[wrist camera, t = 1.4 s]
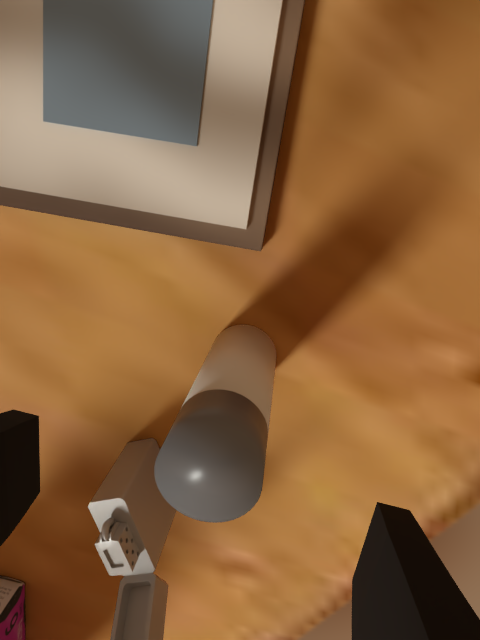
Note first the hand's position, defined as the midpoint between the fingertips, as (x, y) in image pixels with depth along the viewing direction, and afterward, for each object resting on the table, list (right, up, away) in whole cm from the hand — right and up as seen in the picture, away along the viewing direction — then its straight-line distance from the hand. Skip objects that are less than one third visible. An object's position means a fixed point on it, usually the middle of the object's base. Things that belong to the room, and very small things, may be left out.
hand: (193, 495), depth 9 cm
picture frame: (-5, +14, +8) cm, 17 cm away
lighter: (-3, -6, +14) cm, 16 cm away
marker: (+1, +2, +11) cm, 11 cm away
